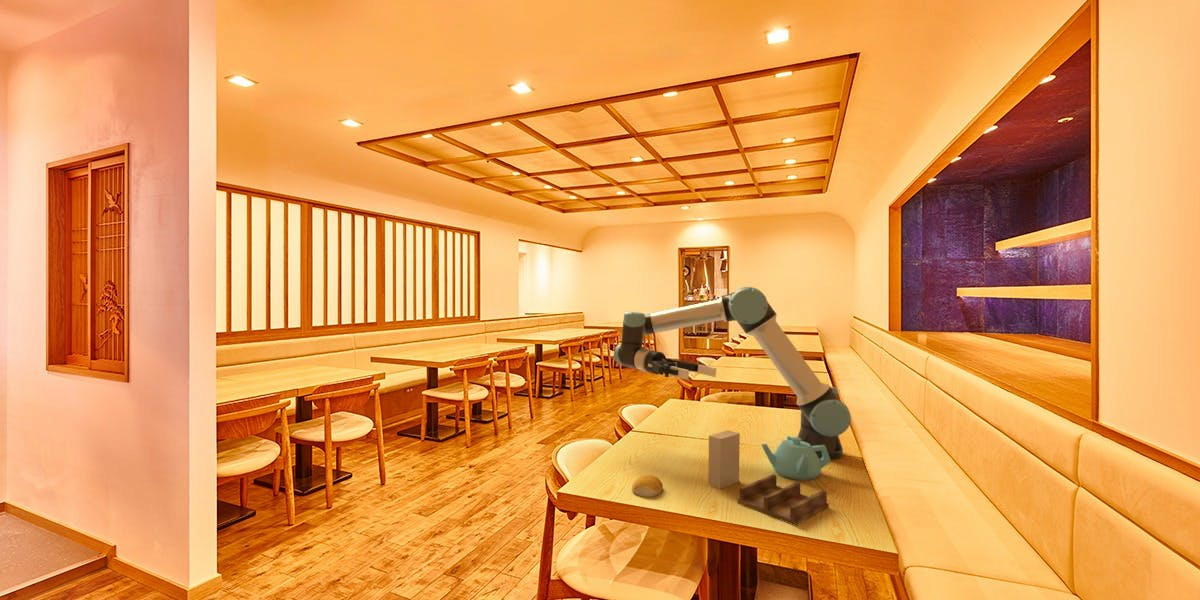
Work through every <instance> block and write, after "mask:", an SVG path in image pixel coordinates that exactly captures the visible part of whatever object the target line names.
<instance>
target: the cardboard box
mask: <svg viewBox="0 0 1200 600" xmlns="http://www.w3.org/2000/svg"><path fill="white" fill-rule="evenodd" d="M707 476H708V480H707V481H708V482H707V483H708V484H707V485H708V486H711V487H713V488H716V489H719V490H721V489H723V488H726V487H729V486H731V485H733V484H736V483H739V482H740V433H739V432H735V431H732V430H725V431H722V432H721V431H720V432H717V433H714V434H710V435H708V475H707Z"/></svg>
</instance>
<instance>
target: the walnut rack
mask: <svg viewBox="0 0 1200 600" xmlns="http://www.w3.org/2000/svg"><path fill="white" fill-rule="evenodd" d="M777 480H778V477H777V474H775V473H773V474H771V475H768V476H766V477H762V478H761V479H758V480H755V481H753V482H751V483H748V484H746V485H743V486H742V487H739V497H738V498H737V503H738V504H740V505H742V504H743V506H745V507H747V506H748V507H747V508H750V507H751V508H750V509H752V508H753V510H755V509H756V510H755V511H757V510H758V511H757V512H760V513H763V514H766V515H767V514H768V516H770V515H771V517H772V516H773V518H776V519H777V520H780V519H782V520H781V521H783V520H784V521H783V522H785V521H787V522H786V523H788V522H790V523H792V524H791V525H793V524H795V525H797V524H799V523H800V524H802V523H803V522H802V521H804V520H806V519H807V520H809V519H811V518H813V517H814V516H816V515H818V514H820V513H821V512H823V511H825V510H827V509H828V508H829V503H828V502H827V500H828V499H827V498H828V497H827V496H828V491H826V490H824V489H822V490H820V491H818V492H816V493H815V494H813V495H810V496H807V495H805V494H802V493H801V491H802V490H801V488H802V487H801V485H802V483H801V482H799V481H795V482H793V483H791V484H788V485H786V486H785V487H781V486H778V485H777V482H778V481H777ZM819 512H820V513H819ZM812 516H813V517H812ZM810 517H811V518H810ZM808 518H809V519H808ZM807 520H806V521H807ZM801 522H802V523H801ZM804 522H805V521H804ZM790 523H789V524H790ZM800 524H799V525H800ZM795 525H794V526H795ZM797 526H798V525H797Z"/></svg>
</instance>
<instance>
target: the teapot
mask: <svg viewBox="0 0 1200 600" xmlns="http://www.w3.org/2000/svg"><path fill="white" fill-rule="evenodd" d="M761 447H762V450H763V451H764V453H765V455H766V457H767V459H768V461H769V463H770V464H771V466H772V468H773V470H775V472H776V473H777V474H778V475H779V476H782V477H785V478H788V479H792V480H797V481H799V480H800V481H809V480H814V479H816V478H817V477H818V476H819V475H820V474H821V472H822V469H823V468H825V466H827V465H828V464H829V463H831V461H832V459H830V457H829V454H828V452H827V449H826V446H825V445H816V446H811V445H810V444H809V443H807V442H803V441H801V438H798V436H793V437H792V436H791V435H787V436H786V440H783V441H781V443H780V444H779V445H778V447H776V450H775V451H774V453H773V452H772V451H771V449H770V448H769V445H768V443H762V444H761ZM820 450H821V452H822V456H823V457H822V458H821V459H819V458H818V456H817V454H816V452H815V451H820Z"/></svg>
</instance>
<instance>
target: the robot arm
mask: <svg viewBox="0 0 1200 600" xmlns="http://www.w3.org/2000/svg"><path fill="white" fill-rule="evenodd" d="M719 321H723V322H725V323H728V322H735V321H736V322H737V323H738V325H739V327H740V328H741V329H742V330H743V331H744V333H745V335H750V336H753V338H754V339H755V340H756V342H757V343H758V344H759V346H760V348H762V349H763V352H764V353H765V354H766V356H767V357H768V358H769V360H770V361H771V362H772V364H773V365H774V367H775V368H776V369H777V371H778V372H779V373H780V375H781V376H782V378H783V379H784V380H785V381H786V383H787V384H788V386H789V387H790V388H791V390H792V391H793V393H794V394H795V395H796V397H797V398H796V405H797V406H798V408H799V409H800V429H799V431H798V435H797V437H798V438H801V441H803V442H807V443H809V444H810V445H811V446H816V445H825V446H826V449H827V452H828V454H829V457H830V460H837V459H838V458H839V459H841V458H843V457H844V448H843V445H842V441H841V439H840V435H842V434H844V433H845V432H846V431H848V429H849V427H850V425H851V421H852V417H851V413H850V409H849V408H848V406H847V405H846V404H844V403H843V401H841V399H840V398H839V390H838V388H837V387H834V386H830V385H829V384H828V383H823V382H821V381H820V379H819V377H817V375H816V374H815V372H813V369H812V368H811V367H810V365H808V363H807V362H806V361H805V359H804V357H803V355H801V353H800V352H799V351H798V350H797V348H796V347H795V345H794V344H793V343H792V341H791V340H790V338H789V337H788V336H787V334H786V333H785V331H784V330H783V329H782V328H781V326H780V325H779V324H778V322H777V313H776V311H775V310H774V308H773V307H772V305H770V303H769V302H768V300H767V297H766V296H765V294H764V293H763V292H762V291H761V290H760V289H758V288H755V287H753V286H743V287H740V288H738V289H737V290H735V291H733V292H731V293H728V294H725V295H720V296H719V298H718V299H714V300H709V301H704V302H700V303H695V304H690V305H687V306H681V307H677V308H673V309H672V308H671V309H666V310H662V311H658V312H653V313H649V314H645V313H643V312H639V311H638V312H637V311H625V312H624V314H623V320H622V333H621V335H622V336H621V341H620V343H619V344H618V345H616V347H615V350H614V351H613V359H614V361H615V362H616V363H617V364H618V365H621V366H623V367H626V368H632V369H636V370H640V371H641V372H642V373H646V372H647V373H650V374H654V375H664V377H665V378H669V377H670V376H672V377H675V378H678V379H679V378H680V379H683V380H689V376H690V372H694V373H697V374H700V375H704V376H709V377H713V378H715V377H716V375H717V367H712V366H708V365H704V364H703V363H702V362H701V361H699V362H698V363H697V362H690V361H685V360H684V361H683V360H678V359H672V358H667V356H666V354H664V353H663V352H661V351H657V350H653V349H649V348H645V347H644V348H643V344H644V342H643V341H644V336H648V335H653V334H657V333H658V334H659V333H663V332H668V331H673V330H677V329H683V328H689V327H693V326H699V325H704V324H709V323H713V322H719ZM815 452H816V454H817V456H818V458H819V459H821V458H822V457H823V456H822V452H821V450H820V451H815ZM842 456H843V457H842Z"/></svg>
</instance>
